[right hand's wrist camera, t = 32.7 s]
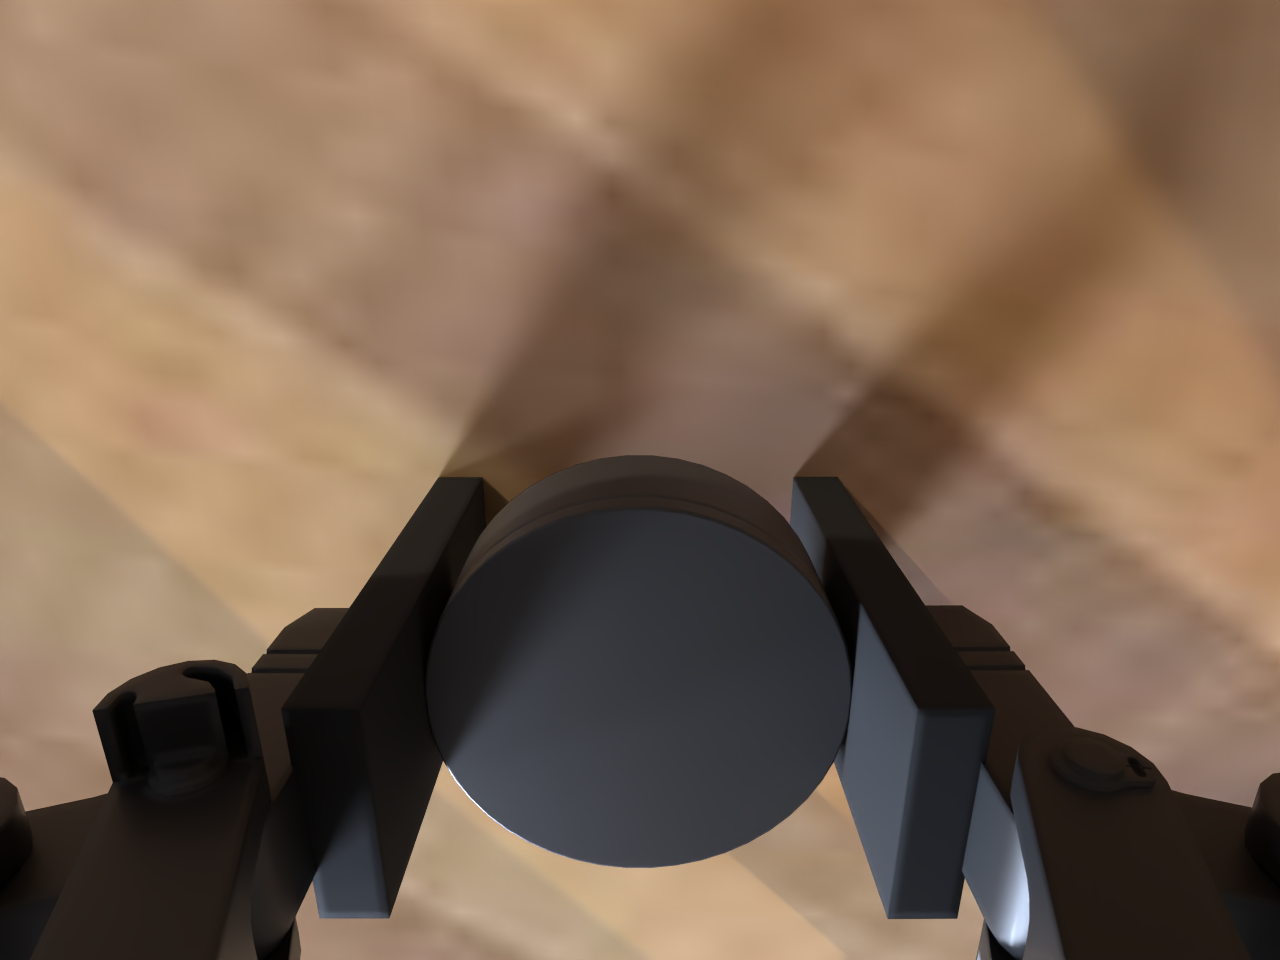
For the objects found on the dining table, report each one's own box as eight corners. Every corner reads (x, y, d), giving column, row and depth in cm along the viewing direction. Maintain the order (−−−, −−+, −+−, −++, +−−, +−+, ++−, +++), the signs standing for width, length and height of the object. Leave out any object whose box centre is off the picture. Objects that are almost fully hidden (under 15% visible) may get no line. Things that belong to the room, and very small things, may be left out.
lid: (796, 419, 11) (827, 467, 9) (839, 743, 13) (873, 837, 11) (411, 491, 11) (367, 551, 9) (507, 796, 13) (487, 895, 11)
